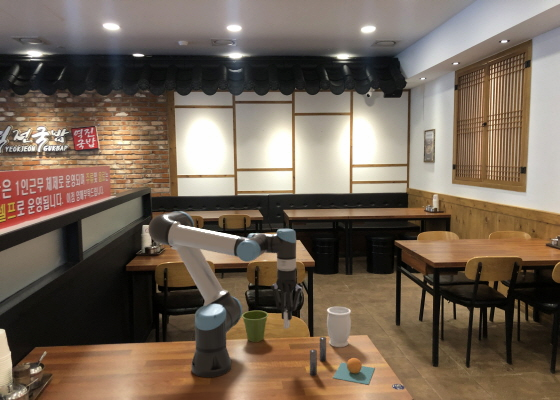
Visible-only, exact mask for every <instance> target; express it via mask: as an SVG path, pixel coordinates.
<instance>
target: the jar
mask: <svg viewBox="0 0 560 400" xmlns="http://www.w3.org/2000/svg"><path fill="white" fill-rule="evenodd" d="M326 313H327V317H326V329H327V335H328V337H329V341H328V343H329V344H328V345H331V346H332V347H334V348H345V347H347V346H348V345H349V341H348V339H349V338H350V334H351V327H352V321H351V319H352V318H351V313H352V310H351V309H350V308H348V307H345V306H331V307H328V308H327V309H326Z"/></svg>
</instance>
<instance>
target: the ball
mask: <svg viewBox="0 0 560 400" xmlns="http://www.w3.org/2000/svg"><path fill="white" fill-rule="evenodd" d="M346 363H347V369H348V370H349V371H350V372H351V373H353V374H356V373H359V372H360V370H361V368H362V366H363V365H362V362H361V360H359V358H356V357H351V358H350V359H348V360H347V362H346Z"/></svg>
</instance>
